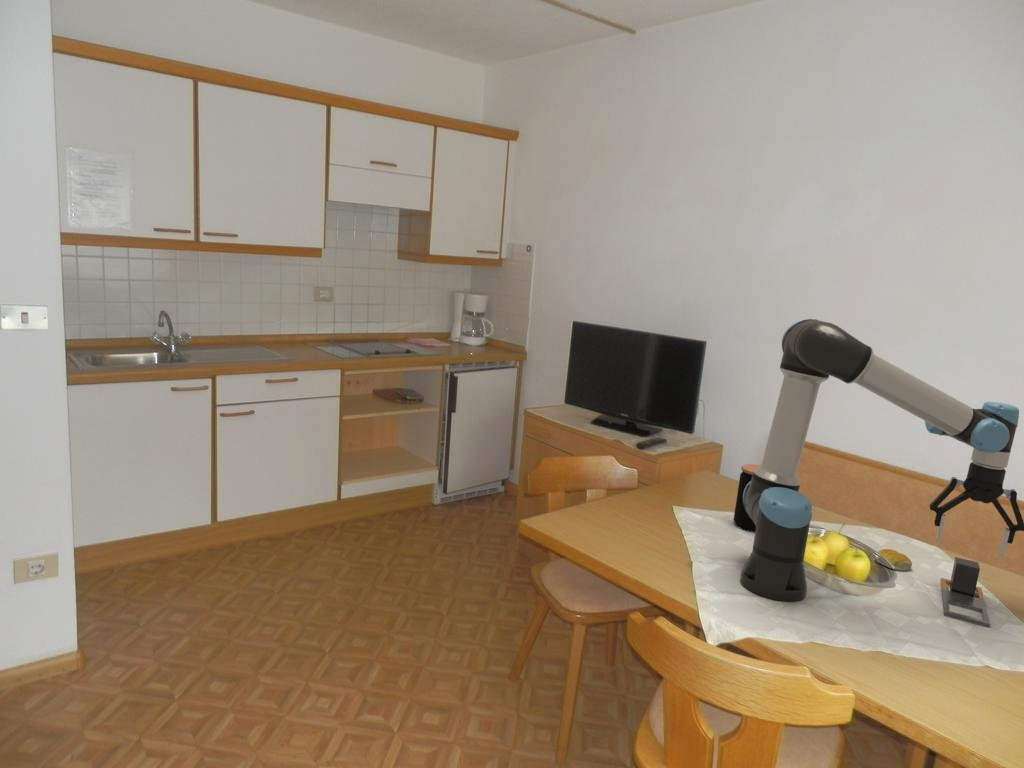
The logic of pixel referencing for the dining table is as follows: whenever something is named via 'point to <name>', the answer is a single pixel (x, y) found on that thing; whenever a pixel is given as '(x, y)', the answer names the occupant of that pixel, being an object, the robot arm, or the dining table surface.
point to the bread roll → (896, 559)
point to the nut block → (964, 576)
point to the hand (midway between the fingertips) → (969, 546)
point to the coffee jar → (740, 513)
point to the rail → (964, 604)
